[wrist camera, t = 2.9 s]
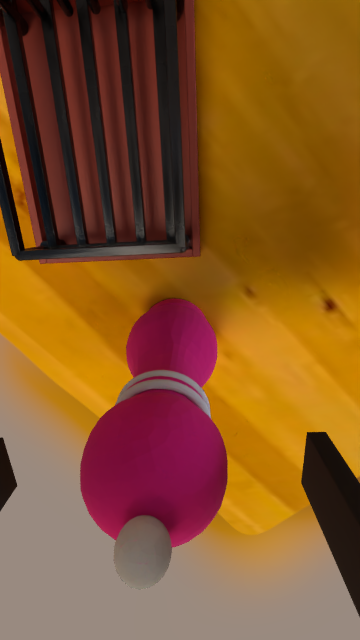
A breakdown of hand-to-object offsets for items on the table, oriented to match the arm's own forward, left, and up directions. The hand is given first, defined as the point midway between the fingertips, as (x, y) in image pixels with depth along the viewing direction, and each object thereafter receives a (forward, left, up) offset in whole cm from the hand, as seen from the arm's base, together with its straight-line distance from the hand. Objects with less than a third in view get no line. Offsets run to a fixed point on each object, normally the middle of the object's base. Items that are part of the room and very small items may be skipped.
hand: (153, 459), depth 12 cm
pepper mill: (0, 0, -16) cm, 16 cm away
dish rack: (-16, -4, -15) cm, 22 cm away
